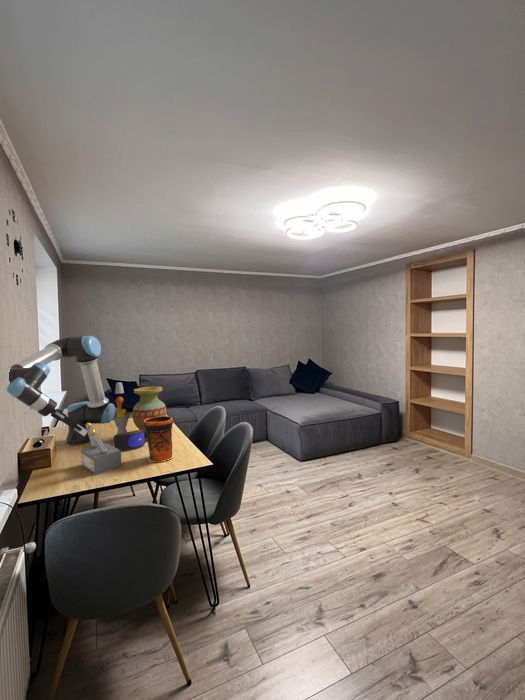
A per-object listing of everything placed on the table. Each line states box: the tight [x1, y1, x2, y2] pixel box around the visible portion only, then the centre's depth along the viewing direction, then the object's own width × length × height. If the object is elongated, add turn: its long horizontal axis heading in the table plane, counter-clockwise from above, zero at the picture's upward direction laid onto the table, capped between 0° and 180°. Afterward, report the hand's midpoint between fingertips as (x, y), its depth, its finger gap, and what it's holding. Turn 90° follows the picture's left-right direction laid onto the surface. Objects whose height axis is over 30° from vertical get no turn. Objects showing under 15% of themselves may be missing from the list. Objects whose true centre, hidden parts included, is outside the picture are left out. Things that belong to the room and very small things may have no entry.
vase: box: [131, 386, 167, 442], centre depth 208 cm, size 20×20×30 cm
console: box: [80, 443, 123, 476], centre depth 165 cm, size 17×13×8 cm
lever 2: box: [90, 429, 107, 453], centre depth 158 cm, size 3×2×13 cm
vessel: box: [144, 416, 175, 463], centre depth 173 cm, size 14×14×20 cm
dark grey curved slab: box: [113, 429, 146, 452], centre depth 189 cm, size 16×5×9 cm, turn 125°
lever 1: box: [86, 423, 98, 447], centre depth 168 cm, size 3×2×13 cm
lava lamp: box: [112, 382, 130, 434], centre depth 203 cm, size 9×9×35 cm
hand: (85, 433), depth 165 cm, fingers closed
